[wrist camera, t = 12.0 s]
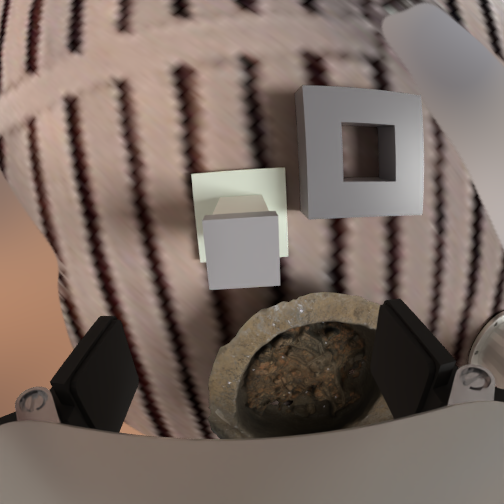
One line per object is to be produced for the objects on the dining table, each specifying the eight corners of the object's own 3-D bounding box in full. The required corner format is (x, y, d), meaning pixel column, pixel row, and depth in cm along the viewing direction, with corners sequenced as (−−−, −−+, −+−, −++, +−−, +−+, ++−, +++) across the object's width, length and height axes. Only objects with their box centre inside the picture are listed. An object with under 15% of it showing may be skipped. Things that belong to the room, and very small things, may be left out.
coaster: (284, 167, 30) (285, 167, 29) (287, 254, 33) (288, 256, 32) (192, 173, 30) (191, 174, 29) (201, 259, 33) (200, 262, 32)
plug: (264, 191, 30) (278, 215, 19) (266, 237, 31) (280, 285, 20) (216, 194, 30) (202, 220, 19) (220, 240, 31) (209, 289, 20)
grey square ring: (402, 100, 28) (420, 95, 24) (404, 207, 31) (422, 215, 28) (294, 93, 28) (302, 85, 24) (300, 210, 31) (308, 219, 28)
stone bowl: (285, 444, 43) (288, 489, 34) (174, 342, 38) (153, 387, 29) (423, 364, 38) (450, 403, 29) (340, 226, 33) (366, 247, 24)
